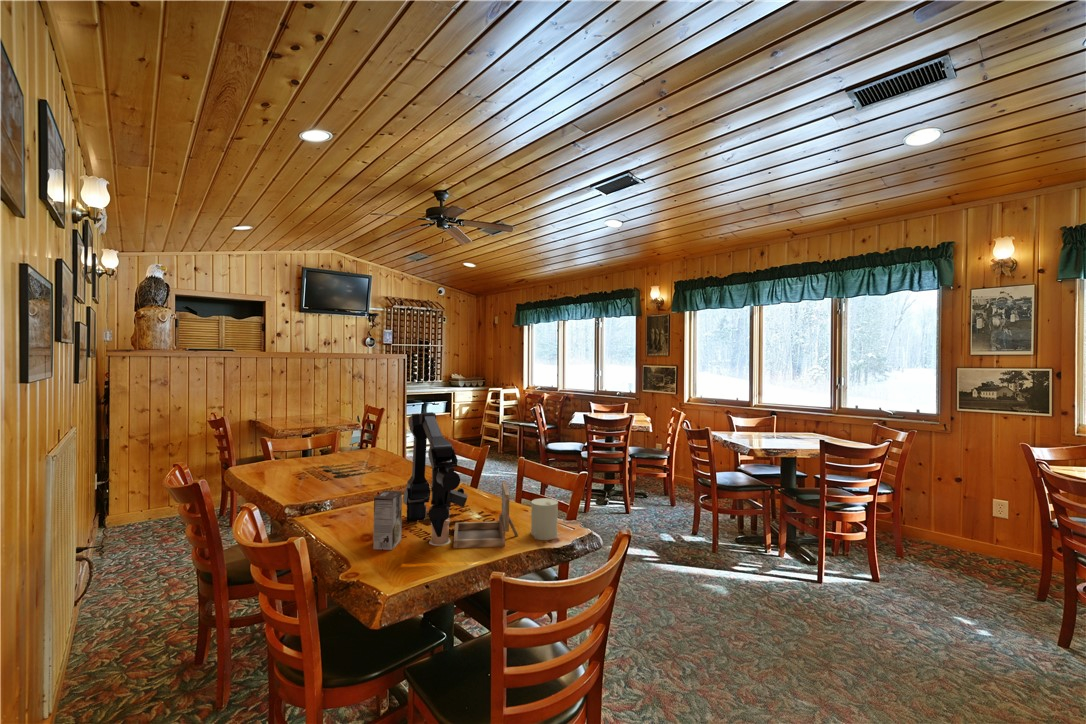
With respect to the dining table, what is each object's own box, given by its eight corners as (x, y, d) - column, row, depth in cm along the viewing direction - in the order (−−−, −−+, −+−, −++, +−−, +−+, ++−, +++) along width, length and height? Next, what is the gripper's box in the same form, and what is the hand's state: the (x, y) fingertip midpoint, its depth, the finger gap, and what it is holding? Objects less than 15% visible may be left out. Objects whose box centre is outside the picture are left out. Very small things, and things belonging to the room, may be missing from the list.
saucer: (427, 548, 161) (427, 545, 161) (429, 540, 168) (429, 538, 168) (450, 547, 162) (450, 545, 162) (451, 539, 169) (451, 537, 169)
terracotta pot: (429, 545, 162) (430, 522, 162) (431, 538, 168) (431, 517, 168) (449, 544, 162) (449, 522, 162) (449, 537, 168) (450, 516, 168)
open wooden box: (453, 552, 159) (454, 496, 159) (455, 531, 178) (456, 481, 178) (522, 549, 162) (522, 494, 162) (516, 529, 181) (517, 480, 181)
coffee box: (382, 539, 168) (383, 490, 168) (401, 540, 168) (402, 490, 168) (372, 549, 159) (373, 497, 159) (392, 550, 159) (393, 498, 159)
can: (539, 542, 168) (540, 505, 168) (525, 533, 176) (526, 498, 176) (563, 537, 173) (563, 501, 173) (548, 529, 181) (548, 495, 181)
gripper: (465, 490, 157) (465, 541, 157) (466, 476, 175) (465, 522, 175) (428, 490, 155) (427, 542, 155) (433, 476, 174) (432, 523, 174)
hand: (440, 531), depth 165 cm, fingers open, 9 cm apart
